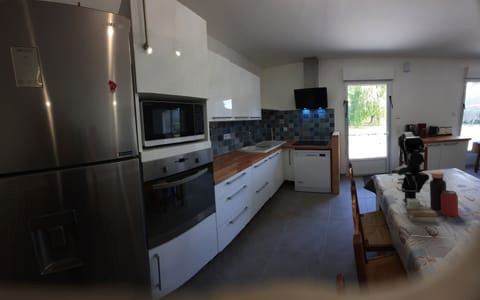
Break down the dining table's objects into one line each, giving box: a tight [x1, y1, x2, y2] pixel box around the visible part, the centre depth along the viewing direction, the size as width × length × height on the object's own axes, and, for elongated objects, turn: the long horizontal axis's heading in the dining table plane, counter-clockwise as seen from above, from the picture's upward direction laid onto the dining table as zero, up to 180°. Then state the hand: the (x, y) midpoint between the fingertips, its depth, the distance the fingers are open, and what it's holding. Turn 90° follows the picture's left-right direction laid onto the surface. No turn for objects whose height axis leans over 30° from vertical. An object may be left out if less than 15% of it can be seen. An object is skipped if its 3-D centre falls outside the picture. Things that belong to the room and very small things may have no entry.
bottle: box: [429, 171, 447, 212], centre depth 129 cm, size 7×7×20 cm
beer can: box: [440, 189, 459, 217], centre depth 121 cm, size 7×7×12 cm
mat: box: [404, 212, 440, 225], centre depth 121 cm, size 14×11×1 cm
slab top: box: [405, 205, 438, 218], centre depth 120 cm, size 10×10×2 cm
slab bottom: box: [406, 211, 437, 222], centre depth 120 cm, size 10×10×2 cm
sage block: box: [406, 198, 421, 206], centre depth 131 cm, size 5×5×6 cm
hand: (414, 188), depth 129 cm, fingers open, 9 cm apart
